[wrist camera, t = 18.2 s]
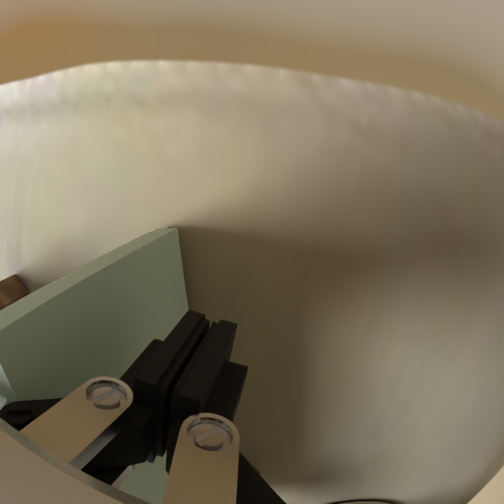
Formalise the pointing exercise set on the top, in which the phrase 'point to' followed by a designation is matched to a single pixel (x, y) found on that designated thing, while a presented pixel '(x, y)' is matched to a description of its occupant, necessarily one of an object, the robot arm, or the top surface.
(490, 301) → the top surface
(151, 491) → the door
